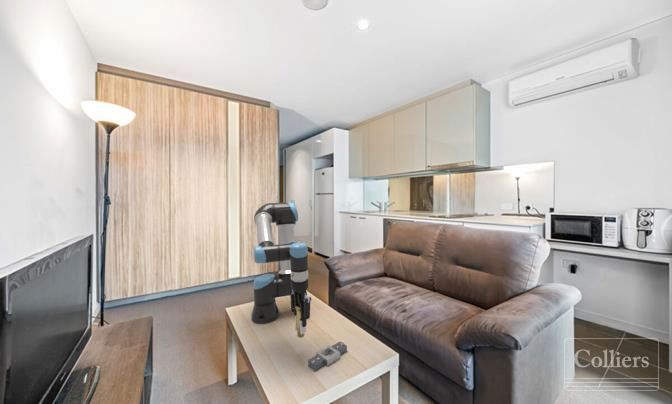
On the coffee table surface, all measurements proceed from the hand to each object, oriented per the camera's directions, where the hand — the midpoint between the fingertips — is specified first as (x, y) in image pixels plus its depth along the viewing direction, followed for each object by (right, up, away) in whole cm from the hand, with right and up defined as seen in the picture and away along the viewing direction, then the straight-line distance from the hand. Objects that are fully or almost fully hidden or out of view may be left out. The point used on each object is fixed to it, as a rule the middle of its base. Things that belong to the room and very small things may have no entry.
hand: (300, 330), depth 112 cm
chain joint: (+12, -9, -4) cm, 16 cm away
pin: (0, -2, 0) cm, 2 cm away
